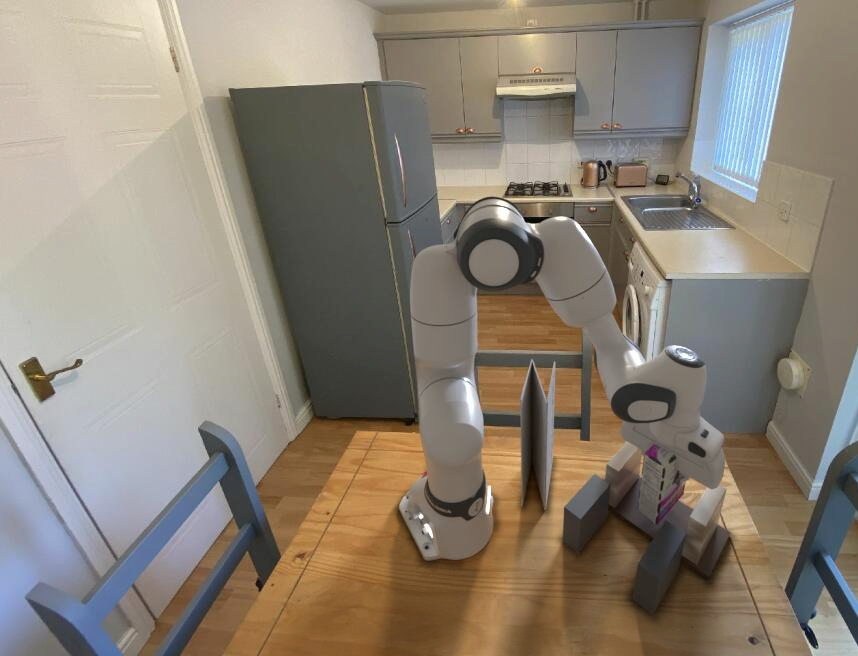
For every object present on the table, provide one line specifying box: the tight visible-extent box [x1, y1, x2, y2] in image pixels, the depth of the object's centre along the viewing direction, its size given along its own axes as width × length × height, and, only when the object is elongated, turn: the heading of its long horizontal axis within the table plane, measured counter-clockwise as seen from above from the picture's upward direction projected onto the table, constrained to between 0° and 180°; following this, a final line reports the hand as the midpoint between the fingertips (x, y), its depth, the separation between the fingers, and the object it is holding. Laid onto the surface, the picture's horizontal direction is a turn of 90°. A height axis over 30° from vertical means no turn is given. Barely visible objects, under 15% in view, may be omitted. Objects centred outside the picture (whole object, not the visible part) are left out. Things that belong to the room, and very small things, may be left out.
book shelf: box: [604, 441, 732, 581], centre depth 89 cm, size 26×12×12 cm, turn 46°
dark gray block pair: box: [562, 473, 686, 616], centre depth 82 cm, size 20×11×10 cm, turn 46°
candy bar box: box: [638, 444, 687, 525], centre depth 87 cm, size 11×5×16 cm, turn 131°
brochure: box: [519, 358, 556, 511], centre depth 95 cm, size 14×6×30 cm, turn 168°
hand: (664, 474), depth 87 cm, fingers closed on candy bar box, 5 cm apart
